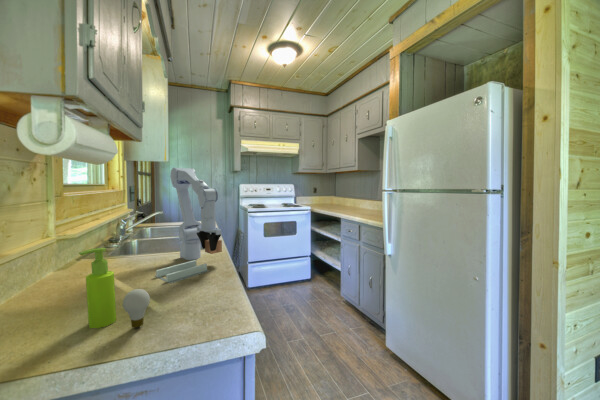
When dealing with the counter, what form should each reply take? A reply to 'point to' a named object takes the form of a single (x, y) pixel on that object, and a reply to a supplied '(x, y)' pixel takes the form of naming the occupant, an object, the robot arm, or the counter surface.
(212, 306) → the counter surface
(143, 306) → the light bulb
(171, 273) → the channel
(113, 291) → the soap dispenser
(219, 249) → the cube
